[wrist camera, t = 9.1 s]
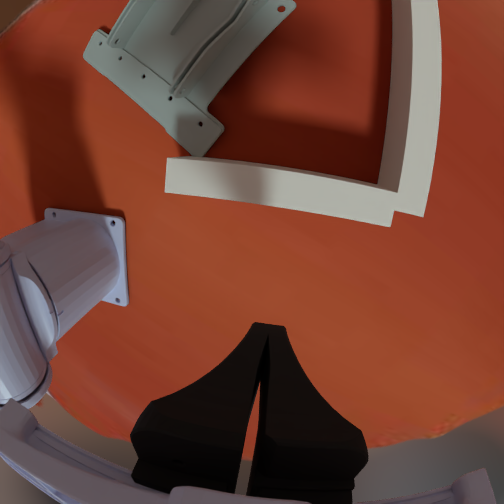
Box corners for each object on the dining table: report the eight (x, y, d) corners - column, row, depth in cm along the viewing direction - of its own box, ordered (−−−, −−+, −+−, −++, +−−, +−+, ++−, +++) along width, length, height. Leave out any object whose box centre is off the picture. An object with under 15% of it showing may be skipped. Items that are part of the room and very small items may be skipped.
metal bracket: (154, -76, 8) (332, 6, 10) (193, -53, 12) (337, 29, 15) (62, 70, 16) (178, 179, 18) (108, 66, 21) (215, 158, 23)
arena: (187, 184, 20) (164, 192, 16) (231, -65, 12) (221, -91, 8) (396, 217, 19) (419, 233, 15) (410, -37, 10) (425, -59, 7)
